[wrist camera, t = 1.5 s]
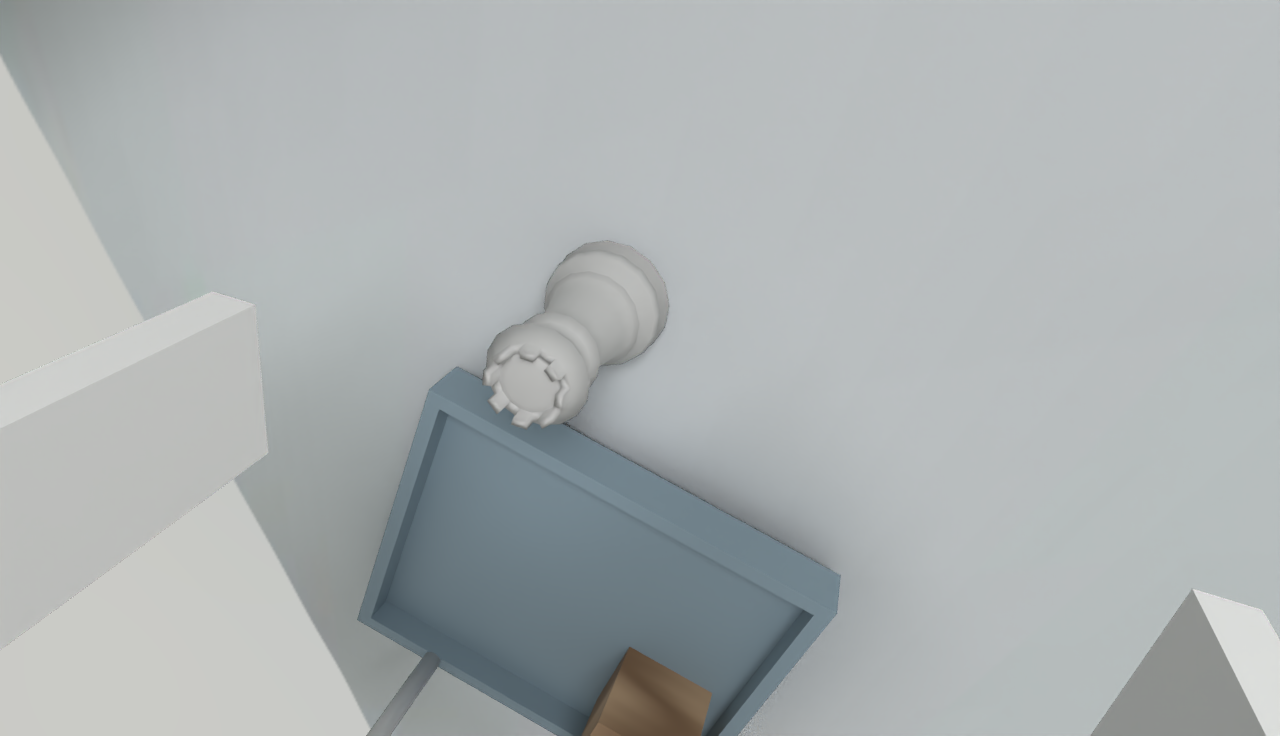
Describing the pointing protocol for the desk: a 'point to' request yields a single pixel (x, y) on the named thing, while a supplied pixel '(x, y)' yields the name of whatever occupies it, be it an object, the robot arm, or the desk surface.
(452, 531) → the tray
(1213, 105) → the desk surface
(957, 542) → the desk surface
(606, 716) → the walnut block
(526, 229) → the desk surface
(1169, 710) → the robot arm
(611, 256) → the rook chess piece
